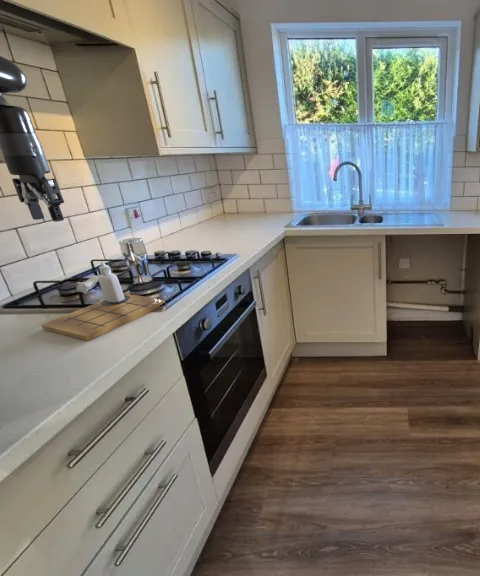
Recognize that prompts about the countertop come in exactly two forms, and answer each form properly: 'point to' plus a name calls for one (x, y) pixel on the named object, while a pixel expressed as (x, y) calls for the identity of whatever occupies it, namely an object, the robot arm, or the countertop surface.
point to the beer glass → (136, 259)
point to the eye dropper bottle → (110, 285)
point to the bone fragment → (86, 284)
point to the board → (102, 317)
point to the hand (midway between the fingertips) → (48, 220)
